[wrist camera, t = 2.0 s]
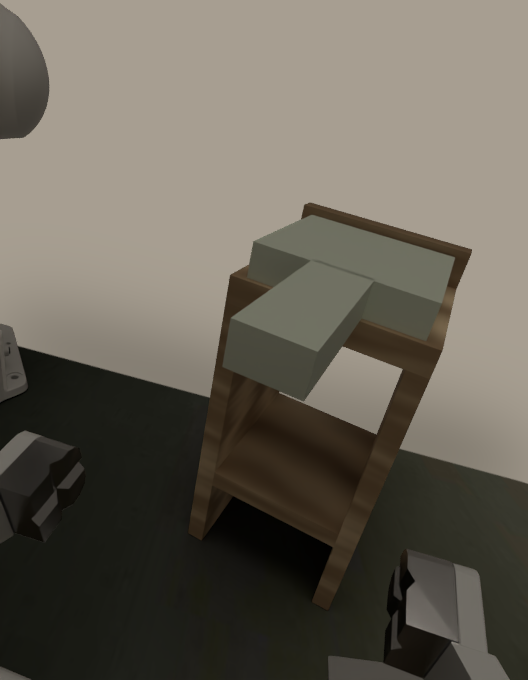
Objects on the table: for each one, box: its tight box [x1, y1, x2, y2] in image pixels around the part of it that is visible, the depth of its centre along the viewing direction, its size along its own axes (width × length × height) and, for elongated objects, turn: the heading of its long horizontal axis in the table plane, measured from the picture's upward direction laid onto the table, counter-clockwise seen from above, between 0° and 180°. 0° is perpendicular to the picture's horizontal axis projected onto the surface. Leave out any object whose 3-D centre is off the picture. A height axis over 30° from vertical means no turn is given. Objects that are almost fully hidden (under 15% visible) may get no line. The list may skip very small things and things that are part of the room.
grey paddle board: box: [222, 215, 455, 401], centre depth 29 cm, size 22×12×2 cm, turn 155°
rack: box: [188, 203, 472, 611], centre depth 40 cm, size 14×14×29 cm
